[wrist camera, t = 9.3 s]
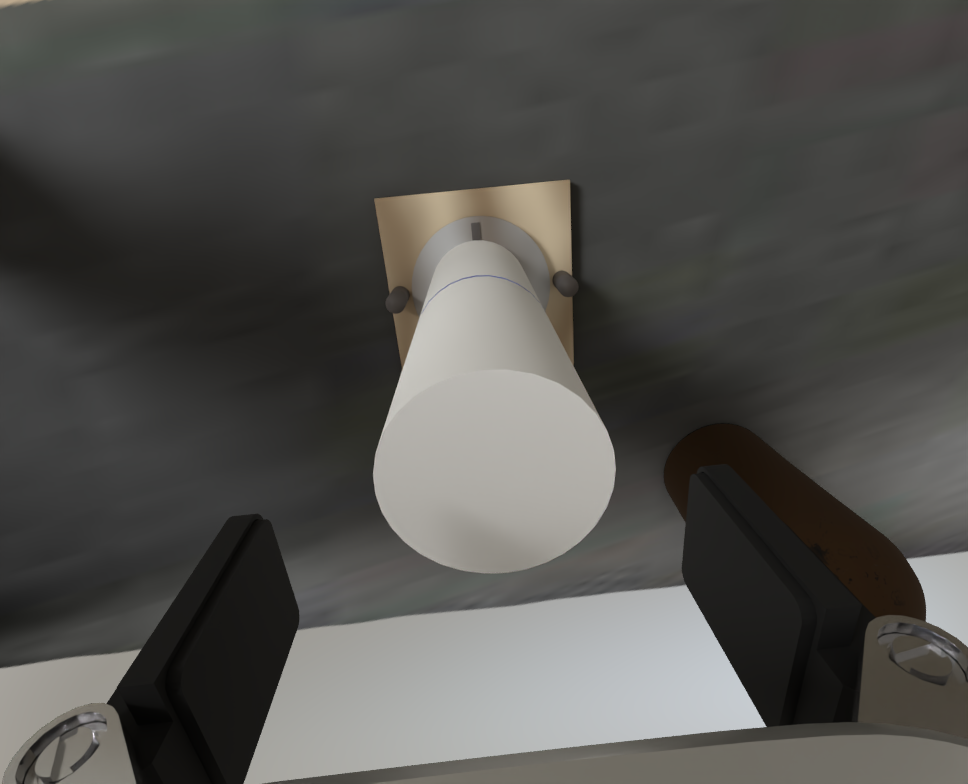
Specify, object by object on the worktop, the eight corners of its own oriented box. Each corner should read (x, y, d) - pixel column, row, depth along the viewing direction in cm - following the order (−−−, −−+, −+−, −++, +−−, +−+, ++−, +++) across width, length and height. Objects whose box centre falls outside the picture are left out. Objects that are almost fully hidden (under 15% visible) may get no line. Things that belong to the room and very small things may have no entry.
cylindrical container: (512, 227, 36) (588, 336, 13) (536, 319, 39) (634, 542, 16) (418, 257, 36) (333, 411, 14) (448, 346, 39) (421, 595, 17)
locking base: (405, 376, 42) (399, 394, 38) (376, 198, 37) (366, 200, 33) (571, 360, 42) (581, 377, 38) (567, 179, 36) (578, 179, 33)
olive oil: (633, 485, 47) (791, 778, 24) (707, 396, 44) (973, 637, 21) (718, 530, 49) (936, 836, 26) (795, 449, 46) (1121, 718, 23)
